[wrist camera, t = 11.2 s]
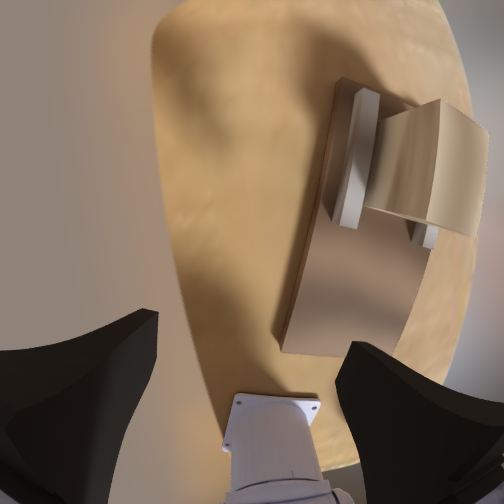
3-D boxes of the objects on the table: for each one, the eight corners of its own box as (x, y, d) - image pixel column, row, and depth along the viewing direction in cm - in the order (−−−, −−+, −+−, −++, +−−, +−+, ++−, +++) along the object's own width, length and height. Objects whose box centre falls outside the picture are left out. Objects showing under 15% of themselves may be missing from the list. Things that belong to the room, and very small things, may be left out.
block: (421, 141, 16) (488, 132, 9) (408, 219, 17) (475, 239, 10) (377, 122, 16) (440, 98, 9) (362, 205, 17) (425, 220, 10)
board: (384, 351, 21) (397, 368, 19) (278, 343, 20) (283, 364, 18) (441, 129, 17) (462, 125, 14) (336, 82, 16) (350, 69, 13)
